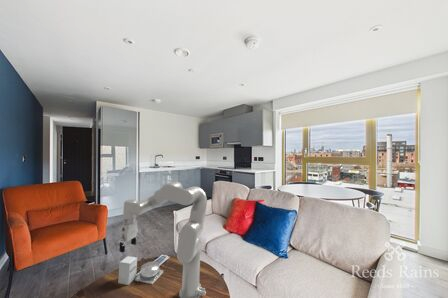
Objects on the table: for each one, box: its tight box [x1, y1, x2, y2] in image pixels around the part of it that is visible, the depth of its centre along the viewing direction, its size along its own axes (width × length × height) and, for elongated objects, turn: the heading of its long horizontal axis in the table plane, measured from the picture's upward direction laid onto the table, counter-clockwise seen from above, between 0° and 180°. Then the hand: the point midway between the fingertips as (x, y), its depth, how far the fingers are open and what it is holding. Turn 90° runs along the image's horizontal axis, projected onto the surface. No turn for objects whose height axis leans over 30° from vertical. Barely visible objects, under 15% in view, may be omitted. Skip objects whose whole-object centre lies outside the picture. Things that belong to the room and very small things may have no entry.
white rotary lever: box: [134, 261, 164, 285], centre depth 119 cm, size 12×12×6 cm
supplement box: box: [117, 255, 138, 286], centre depth 115 cm, size 7×7×13 cm
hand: (127, 248), depth 116 cm, fingers open, 9 cm apart
